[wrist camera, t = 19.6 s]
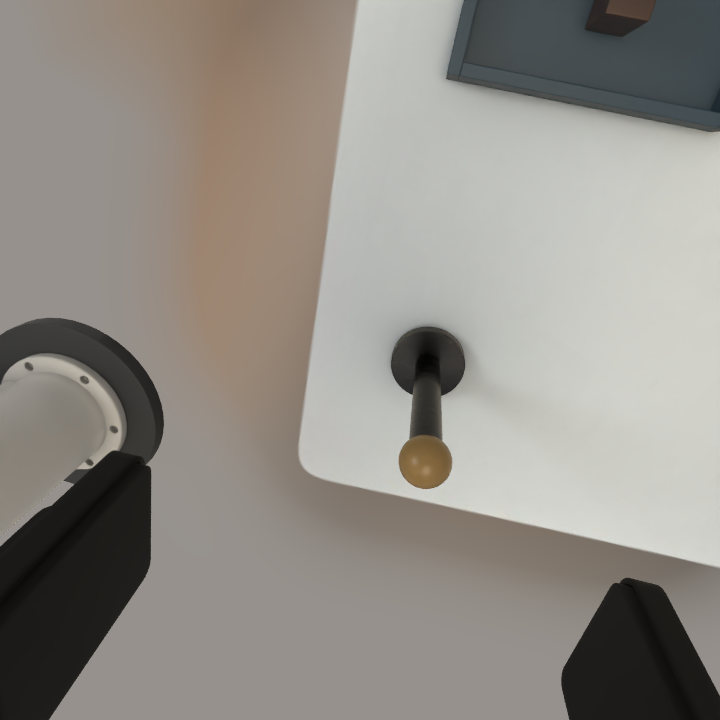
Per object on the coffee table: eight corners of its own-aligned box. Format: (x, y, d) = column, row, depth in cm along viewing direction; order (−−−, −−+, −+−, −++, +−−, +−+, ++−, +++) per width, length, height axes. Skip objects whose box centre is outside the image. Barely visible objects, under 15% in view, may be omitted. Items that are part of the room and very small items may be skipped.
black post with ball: (385, 383, 42) (360, 506, 27) (400, 319, 39) (381, 418, 25) (453, 399, 41) (464, 532, 27) (473, 335, 39) (496, 445, 24)
